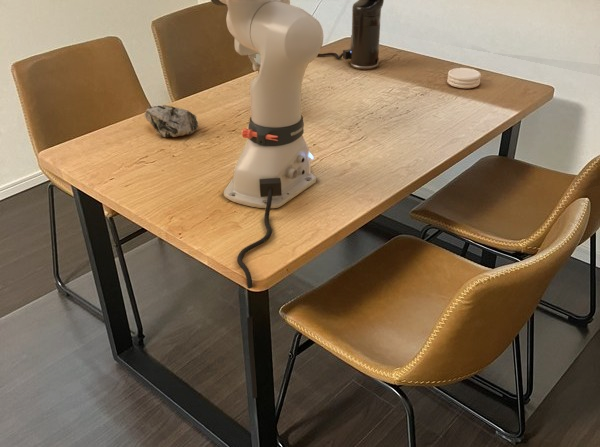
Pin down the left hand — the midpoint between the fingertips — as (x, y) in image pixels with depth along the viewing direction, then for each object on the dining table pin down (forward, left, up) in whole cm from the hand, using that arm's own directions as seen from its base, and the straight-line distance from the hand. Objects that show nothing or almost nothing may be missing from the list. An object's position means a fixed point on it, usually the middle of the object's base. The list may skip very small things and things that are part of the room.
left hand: (273, 68), depth 166 cm
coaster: (+47, -42, -14) cm, 65 cm away
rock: (-18, +22, -14) cm, 32 cm away
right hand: (+34, -32, +15) cm, 49 cm away
